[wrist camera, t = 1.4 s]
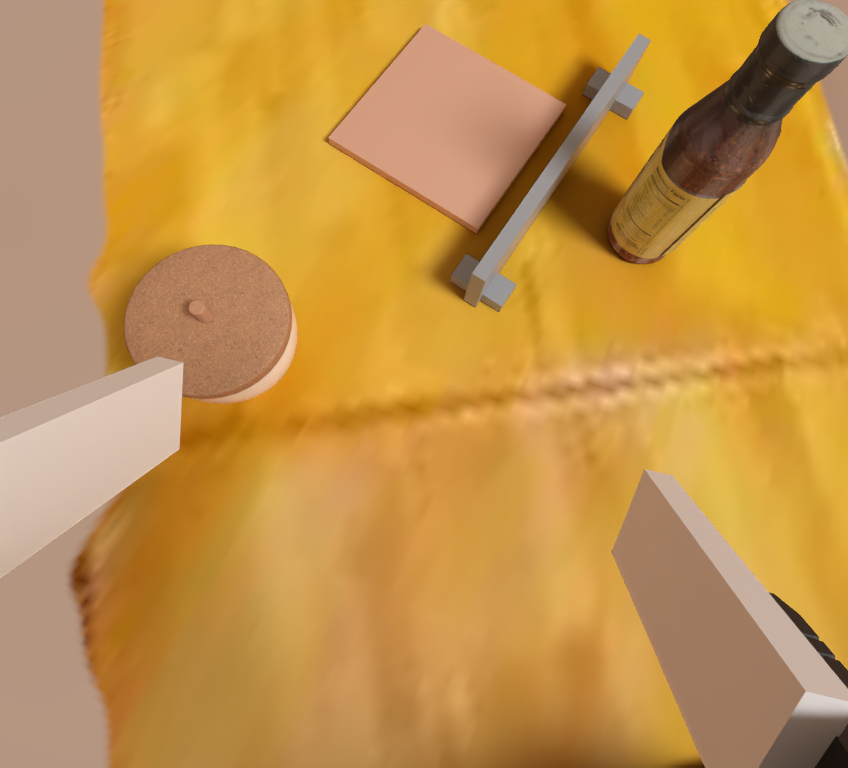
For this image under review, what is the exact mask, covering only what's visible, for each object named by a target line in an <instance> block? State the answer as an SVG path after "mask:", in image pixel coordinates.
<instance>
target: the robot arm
mask: <svg viewBox="0 0 848 768" xmlns="http://www.w3.org/2000/svg"><path fill="white" fill-rule="evenodd" d="M183 363H184V362H179V361H175V360H171V359H166V358H162V357H158V356H157V357H155V358H152V359H150V360H147V361H144V362H142V363H139V364H137V365H134V366H131V367H129V368H126V369H123V370H121V371H118V372H116V373H113V374H110V375H108V376H105V377H103V378H100V379H97V380H95V381H92V382H89V383H87V384H85V385H82V386H79V387H76V388H74V389H71V390H69V391H66V392H63V393H61V394H58V395H55V396H53V397H50V398H48V399H45V400H42V401H40V402H37V403H35V404H32V405H29V406H27V407H24V408H22V409H19V410H16V411H14V412H11V413H9V414H6V415H3V416H1V417H0V579H1V578H2V577H4V576H5V575H7V574H8V573H9V572H10V571H12V570H13V569H15V568H16V567H17V566H19V565H20V564H22V563H23V562H24V561H26V560H27V559H29V558H30V557H31V556H33V555H34V554H35V553H37V552H38V551H40V550H41V549H42V548H44V547H45V546H47V545H48V544H49V543H51V542H52V541H53V540H55V539H56V538H57V537H59V536H60V535H62V534H63V533H64V532H66V531H67V530H69V529H70V528H71V527H72V526H74V525H75V524H77V523H78V522H79V521H81V520H82V519H84V518H85V517H86V516H88V515H89V514H91V513H92V512H93V511H95V510H96V509H98V508H99V507H100V506H102V505H103V504H104V503H106V502H107V501H109V500H110V499H111V498H113V497H114V496H115V495H117V494H118V493H120V492H121V491H122V490H124V489H125V488H127V487H128V486H129V485H131V484H132V483H133V482H135V481H136V480H138V479H139V478H140V477H142V476H143V475H144V474H146V473H147V472H149V471H150V470H151V469H153V468H154V467H156V466H157V465H158V464H160V463H161V462H162V461H164V460H165V459H167V458H168V457H169V456H171V455H172V454H173V453H175V452H176V451H178V450H179V448H180V427H181V406H182V384H183ZM612 554H613V556H614V559H615V561H616V563H617V566H618V568H619V570H620V573H621V575H622V577H623V579H624V582H625V584H626V586H627V589H628V591H629V593H630V596H631V598H632V600H633V603H634V605H635V607H636V609H637V612H638V614H639V616H640V619H641V621H642V623H643V626H644V628H645V630H646V633H647V635H648V637H649V639H650V642H651V644H652V646H653V649H654V651H655V653H656V656H657V658H658V660H659V663H660V665H661V667H662V669H663V672H664V674H665V676H666V679H667V681H668V683H669V686H670V688H671V690H672V693H673V695H674V697H675V700H676V702H677V704H678V706H679V709H680V711H681V713H682V716H683V718H684V720H685V723H686V725H687V727H688V730H689V732H690V734H691V736H692V739H693V741H694V743H695V746H696V748H697V750H698V753H699V755H700V757H701V760H702V762H703V764H704V766H705V768H848V670H847V669H846V668H845V667H844V666H843V665H842V663H841V662H840V661H838V660H835V655H834V654H833V653H832V652H831V651H830V649H829V648H828V647H827V646H826V645H825V644H824V642H822V641H819V637H818V635H817V634H816V633H815V632H814V631H813V630H812V628H811V627H810V626H809V625H808V624H807V623H806V621H805V620H804V619H803V618H802V617H801V616H800V615H799V614H798V613H797V612H796V611H794V610H793V609H792V608H791V607H790V606H788V605H787V604H786V603H785V602H783V601H782V600H781V599H780V598H778V597H777V596H776V595H775V594H773V593H769V592H768V591H767V590H766V589H765V588H764V586H763V585H762V584H761V583H760V582H759V580H758V579H757V578H756V577H755V575H754V574H753V573H752V572H751V571H750V569H749V568H748V567H747V566H746V565H745V563H744V562H743V561H742V560H741V558H740V557H739V556H738V555H737V554H736V552H735V551H734V550H733V549H732V548H731V546H730V545H729V544H728V543H727V541H726V540H725V539H724V538H723V537H722V535H721V534H720V533H719V532H718V531H717V529H716V528H715V527H714V526H713V524H712V523H711V522H710V521H709V520H708V518H707V517H706V516H705V515H704V514H703V512H702V511H701V510H700V509H699V507H698V506H697V505H696V504H695V503H694V501H693V500H692V499H691V498H690V497H689V495H688V494H687V493H686V492H685V490H684V489H683V488H682V487H681V486H680V484H679V483H678V482H677V481H676V479H675V478H674V477H673V476H671V475H667V474H663V473H658V472H654V471H650V470H645V469H644V472H643V474H642V477H641V480H640V482H639V485H638V487H637V490H636V492H635V495H634V497H633V500H632V502H631V505H630V507H629V510H628V512H627V515H626V517H625V520H624V522H623V525H622V527H621V530H620V532H619V535H618V537H617V540H616V542H615V545H614V547H613V550H612Z"/></svg>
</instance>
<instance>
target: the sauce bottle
mask: <svg viewBox="0 0 848 768" xmlns="http://www.w3.org/2000/svg"><path fill="white" fill-rule="evenodd" d="M847 55H848V18H847V16H846V15H845V14H843V13H842V11H841V10H839V9H837V8H835V7H833V6H832V5H830V4H827V3H824V2H820V1H817V0H797V1H794V2H791V3H789V4H788V5H786V6H785V7H784V8H783V9H782V10H781V11H780V12H778V14H777V15H776V16H775V18H774V19H773V20H772V21H771V22H770V23H769V24H768V26H767V27H766V29H765V30H764V31H763V32H762V34H761V37H760V39H759V42H758V45H757V46H756V48H755V49H754V50H753V52H752V53H751V54H750V56H749V57H748V58H747V59H746V61H745V62H744V64H743V65H742V66H741V67H740V69H739V70H737V71H736V72H735V73H734V74H733V75H732V76H731V78H730V80H728V81H727V82H725V83H724V84H722V85H721V86H720V87H718V88H717V89H715V90H714V91H713V92H711V93H710V94H708V95H707V96H705V97H704V98H703V99H701V100H700V101H698V102H697V103H696V104H694V105H693V106H691V107H690V108H688V109H687V110H686V111H685V112H683V113H682V114H681V115H680V116H679V118H678V119H677V120H676V122H675V123H674V124H673V126H672V127H671V129H670V130H669V132H668V133H667V134H666V136H665V138H664V139H663V140H662V142H661V143H660V144H659V146H658V147H657V149H656V150H655V151H654V153H653V154H652V156H651V157H650V159H649V160H648V162H647V163H646V164H645V166H644V167H643V169H642V170H641V172H640V173H639V175H638V176H637V178H636V179H635V180H634V182H633V183H632V185H631V186H630V187H629V189H628V190H627V192H626V193H625V195H624V196H623V198H622V199H621V201H620V202H619V203H618V205H617V206H616V208H615V210H614V212H613V214H612V216H611V220H610V223H609V226H608V237H609V241H610V243H611V245H612V247H613V248H614V250H615V251H616V252H617V253H618V254H619V255H620V256H621V257H623V258H624V259H625V260H626V261H630V262H634V263H641V264H645V263H648V264H649V263H654V262H657V261H659V260H660V259H662V258H663V257H664V256H665V255H667V254H669V253H671V252H672V251H673V250H674V249H676V248H677V247H678V246H679V245H680V244H681V243H682V242H683V241H684V240H685V239H686V238H687V237H688V236H690V235H691V234H692V233H693V232H694V231H695V230H696V229H697V228H698V227H699V226H700V225H701V224H702V223H703V222H704V221H705V220H706V219H707V218H709V217H710V216H711V215H712V214H713V213H714V212H715V211H716V210H717V209H718V208H719V207H720V206H721V205H722V204H723V203H724V202H725V201H726V200H728V199H729V198H730V197H731V196H732V195H733V194H734V193H735V192H736V191H737V190H738V189H739V188H740V187H741V186H742V185H743V184H744V183H745V181H746V180H747V178H748V177H750V176H751V175H752V174H753V173H754V172H755V171H756V170H757V169H758V168H759V167H760V166H761V165H762V164H763V163H764V162H765V161H766V159H767V158H768V157H769V155H770V154H771V152H772V150H773V148H774V146H775V144H776V142H777V139H778V137H779V136H780V132H781V124H782V119H783V117H785V116H786V115H787V114H788V113H789V112H790V110H791V109H792V108H793V106H794V105H795V104H796V102H797V101H799V100H800V99H801V98H802V97H803V96H804V94H806V92H807V91H809V90H810V89H811V88H812V86H813V85H814V84H815V83H816V82H818V81H820V80H822V79H823V78H824V77H826V76H827V75H828V74H830V73H831V72H832V71H833V70H834V69H835V68H836V67H837V66H838V65H839V64H840V63H841V62H842V61H843V60H844V58H845V57H846V56H847Z"/></svg>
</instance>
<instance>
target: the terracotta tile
mask: <svg viewBox="0 0 848 768" xmlns="http://www.w3.org/2000/svg"><path fill="white" fill-rule="evenodd" d="M566 105H567V104H565V103H563V102H561V101H560V100H558V99H556V98H554V97H553V96H551V95H549V94H547V93H546V92H544V91H542V90H540V89H539V88H537V87H535V86H533V85H532V84H530V83H528V82H526V81H525V80H523V79H521V78H519V77H518V76H516V75H514V74H512V73H511V72H509V71H507V70H505V69H504V68H502V67H500V66H498V65H497V64H495V63H493V62H491V61H490V60H488V59H486V58H484V57H483V56H481V55H479V54H477V53H476V52H474V51H472V50H470V49H469V48H467V47H465V46H463V45H462V44H460V43H458V42H456V41H455V40H453V39H451V38H449V37H448V36H446V35H444V34H442V33H441V32H439V31H437V30H435V29H434V28H432V27H430V26H428V25H427V24H425V25H424V26H423V27H422V29H421V30H420V31H419V32H418V33H417V34H416V36H415V37H414V38H413V39H412V40H411V41H410V43H409V44H408V45H407V46H406V47H405V48H404V50H403V51H402V52H401V53H400V54H399V55H398V57H397V58H396V59H395V60H394V61H393V62H392V64H391V65H390V66H389V67H388V68H387V69H386V71H385V72H384V73H383V74H382V75H381V76H380V78H379V79H378V80H377V81H376V82H375V83H374V85H373V86H372V87H371V88H370V89H369V90H368V92H367V93H366V94H365V95H364V96H363V97H362V99H361V100H360V101H359V102H358V103H357V105H356V106H355V107H354V108H353V109H352V110H351V112H350V113H349V114H348V115H347V116H346V117H345V119H344V120H343V121H342V122H341V123H340V124H339V126H338V127H337V128H336V129H335V130H334V131H333V133H332V134H331V135H330V136H329V137H328V139H329V144H330V145H332V146H334V147H335V148H337V149H339V150H340V151H342V152H343V153H345V154H347V155H348V156H350V157H352V158H353V159H355V160H357V161H358V162H360V163H361V164H363V165H365V166H366V167H368V168H370V169H371V170H373V171H374V172H376V173H378V174H379V175H381V176H383V177H384V178H386V179H388V180H389V181H391V182H392V183H394V184H396V185H397V186H399V187H401V188H402V189H404V190H406V191H407V192H409V193H410V194H412V195H414V196H415V197H417V198H419V199H420V200H422V201H424V202H425V203H427V204H428V205H430V206H432V207H433V208H435V209H437V210H438V211H440V212H442V213H443V214H445V215H446V216H448V217H450V218H451V219H453V220H455V221H456V222H458V223H460V224H461V225H463V226H464V227H466V228H468V229H469V230H471V231H473V232H474V233H476V234H477V233H478V231H479V230H480V228H481V227H482V226H483V224H484V223H485V221H486V220H487V219H488V217H489V216H490V214H491V213H492V212H493V210H494V209H495V207H496V206H497V204H498V203H499V202H500V200H501V199H502V197H503V196H504V195H505V193H506V192H507V190H508V189H509V188H510V186H511V185H512V183H513V182H514V181H515V179H516V178H517V176H518V175H519V174H520V172H521V171H522V169H523V168H524V167H525V165H526V164H527V162H528V161H529V160H530V158H531V157H532V155H533V154H534V152H535V151H536V150H537V148H538V147H539V145H540V144H541V143H542V141H543V140H544V138H545V137H546V136H547V134H548V133H549V131H550V130H551V129H552V127H553V126H554V124H555V123H556V122H557V120H558V119H559V117H560V116H561V115H562V113H563V112H564V110H565V107H566Z"/></svg>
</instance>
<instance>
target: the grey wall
mask: <svg viewBox="0 0 848 768" xmlns="http://www.w3.org/2000/svg"><path fill="white" fill-rule="evenodd" d="M650 41H651V40H650V39H648V38H646V37H644V36H642V35H641V34H639V35H638V36H637V37H636V39H635V40H634V42H633V43H632V45H631V46H630V47H629V49H628V50H627V52H626V53H625V55H624V56H623V57H622V59H621V60H620V62H619V63H618V65H617V66H616V68H615V69H614V70H613V72H612V73H611V74H610V73H608V72H607V71H605V70H603V69H601V68H600V67H598V69H597V70H596V72H595V73H594V74H593V76H592V77H591V79H590V80H589V82H588V83H587V85H586V87H585V89H584V91H583V95H585V96H586V97H588V98H590V99H592V102H591V103H590V105H589V106H588V108H587V109H586V111H585V112H584V113H583V115H582V116H581V118H580V119H579V121H578V122H577V123H576V125H575V126H574V128H573V129H572V131H571V132H570V133H569V135H568V136H567V138H566V139H565V141H564V142H563V144H562V145H561V146H560V148H559V149H558V151H557V152H556V154H555V155H554V156H553V158H552V159H551V161H550V162H549V164H548V165H547V166H546V168H545V169H544V171H543V172H542V174H541V175H540V176H539V178H538V179H537V181H536V182H535V184H534V185H533V187H532V188H531V189H530V191H529V192H528V194H527V195H526V197H525V198H524V199H523V201H522V202H521V204H520V205H519V207H518V208H517V209H516V211H515V212H514V214H513V215H512V217H511V218H510V220H509V221H508V222H507V224H506V225H505V227H504V228H503V230H502V231H501V232H500V234H499V235H498V237H497V238H496V240H495V241H494V242H493V244H492V245H491V247H490V248H489V250H488V251H487V253H486V254H485V255H484V257H483V258H482V260H481V261H480V262H479V261H478V260H476V259H474V258H473V257H471V256H469V255H468V254H466V255H465V256H464V258H463V259H462V261H461V262H460V263H459V265H458V266H457V268H456V269H455V270H454V272H453V273H452V275H451V278H450V282H452V283H453V284H455V285H457V286H458V287H460V288H461V289H463V290H465V291H466V294H465V297H464V301H466V302H467V303H469V304H471V305H472V306H474V307H476V306H477V304H478V303H479V301H480V300H481V301H482V302H484V303H485V304H487V305H489V306H490V307H492V308H493V309H495V310H496V311H498V312H499V311H500V310H501V308H502V307H503V305H504V304H505V302H506V301H507V299H508V298H509V296H510V295H511V293H512V292H513V290H514V288H515V286H516V284H515V283H513V282H512V281H510V280H508V279H507V278H505V277H503V276H502V275H500V274H499V272H500V270H501V269H502V267H503V266H504V265H505V263H506V262H507V260H508V259H509V257H510V256H511V254H512V253H513V251H514V250H515V248H516V247H517V245H518V244H519V243H520V241H521V240H522V238H523V237H524V235H525V234H526V232H527V231H528V229H529V228H530V226H531V225H532V223H533V222H534V220H535V219H536V218H537V216H538V215H539V213H540V212H541V210H542V209H543V207H544V206H545V204H546V203H547V201H548V200H549V198H550V197H551V196H552V194H553V193H554V191H555V190H556V188H557V187H558V185H559V184H560V182H561V181H562V179H563V178H564V176H565V175H566V174H567V172H568V171H569V169H570V168H571V166H572V165H573V163H574V162H575V160H576V159H577V157H578V156H579V154H580V153H581V151H582V150H583V149H584V147H585V146H586V144H587V143H588V141H589V140H590V138H591V137H592V135H593V134H594V132H595V131H596V129H597V128H598V127H599V125H600V124H601V122H602V121H603V119H604V118H605V116H606V115H607V113H608V112H609V110H611V111H613V112H614V113H616V114H618V115H620V116H622V117H623V118H625V119H628V117H629V116H630V114H631V113H632V111H633V110H634V108H635V107H636V105H637V104H638V102H639V101H640V99H641V97H642V96H643V94H644V92H642V91H641V90H639V89H637V88H635V87H633V86H632V85H630V84H628V81H629V79H630V78H631V76H632V74H633V72H634V70H635V68H636V67H637V65H638V63H639V61H640V59H641V58H642V56H643V54H644V52H645V50H646V48H647V47H648V45H649V43H650Z"/></svg>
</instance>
